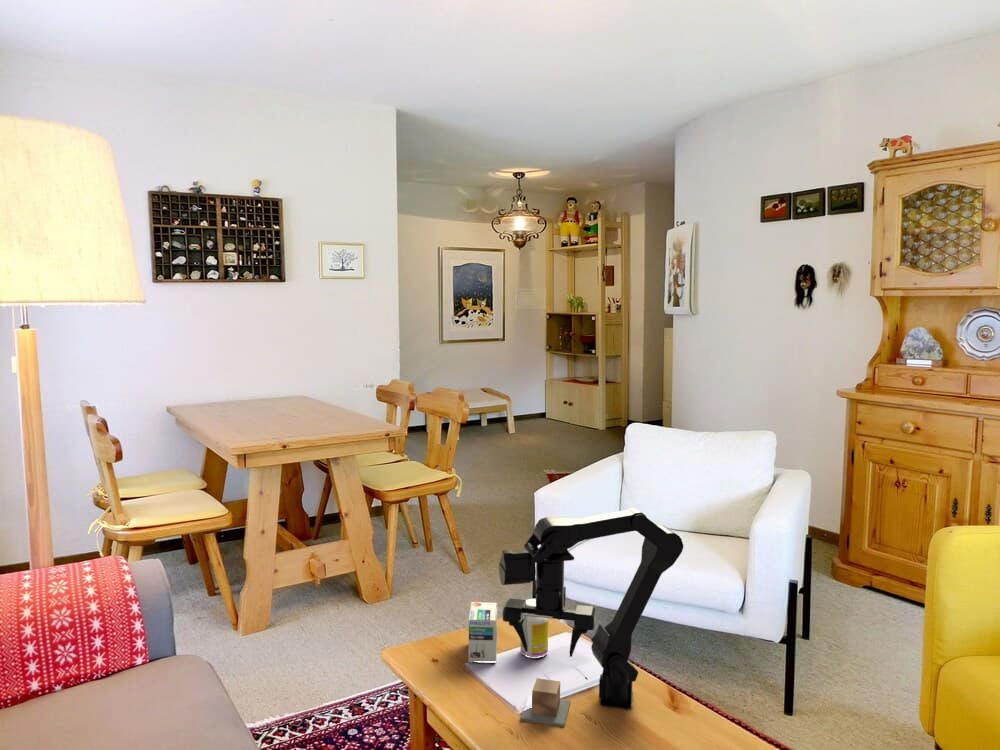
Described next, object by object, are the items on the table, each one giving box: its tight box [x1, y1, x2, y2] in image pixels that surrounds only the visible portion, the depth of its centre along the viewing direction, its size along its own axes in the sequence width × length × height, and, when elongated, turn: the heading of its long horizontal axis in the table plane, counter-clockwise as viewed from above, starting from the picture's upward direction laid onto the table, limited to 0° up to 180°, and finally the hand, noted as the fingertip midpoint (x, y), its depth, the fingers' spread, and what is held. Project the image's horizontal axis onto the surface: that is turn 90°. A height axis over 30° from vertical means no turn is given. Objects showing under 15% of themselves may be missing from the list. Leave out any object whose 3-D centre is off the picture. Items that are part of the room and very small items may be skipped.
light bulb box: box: [468, 601, 498, 663], centre depth 173 cm, size 11×7×11 cm, turn 179°
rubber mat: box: [519, 698, 571, 728], centre depth 148 cm, size 9×9×1 cm
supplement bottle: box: [520, 598, 549, 657], centre depth 173 cm, size 7×7×13 cm
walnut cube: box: [531, 677, 561, 717], centre depth 148 cm, size 5×5×5 cm
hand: (548, 653), depth 149 cm, fingers open, 9 cm apart
